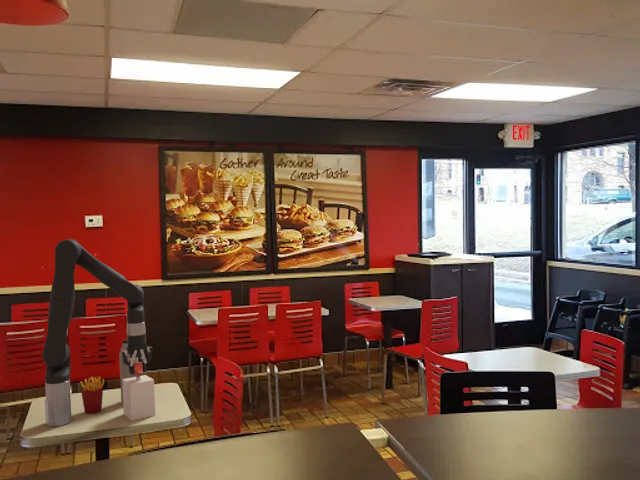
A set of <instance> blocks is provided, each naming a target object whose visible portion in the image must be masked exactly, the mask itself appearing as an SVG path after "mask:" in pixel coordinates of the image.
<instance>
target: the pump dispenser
mask: <svg viewBox="0 0 640 480" xmlns="http://www.w3.org/2000/svg"><path fill="white" fill-rule="evenodd" d="M122 383H123V404H122V405H123V406H122V407H123V415H124V416H126V418H128V419H129V420H131V421H137V420H141V419H143V418H144V419H146V418H149V417H152V416H156V399H155V398H156V397H155V394H156V393H155V392H156V391H155V379H153V378H152V377H150V376H148V375H146V374H143V375H140V380H137V381H136V377H132V378H126V379H122Z"/></svg>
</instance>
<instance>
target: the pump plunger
mask: <svg viewBox="0 0 640 480" xmlns="http://www.w3.org/2000/svg"><path fill="white" fill-rule="evenodd" d="M133 371H134V374H136V381H137V380H140V376H141V374H144V373H143V362H142V361H138V362H135V363H133Z"/></svg>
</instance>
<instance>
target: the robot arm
mask: <svg viewBox="0 0 640 480" xmlns="http://www.w3.org/2000/svg"><path fill="white" fill-rule="evenodd" d="M76 266H78V267H81V268H83V269H84V270H86V272H88V273H89V274H90V275H92V276H93V277H94V278H96V280H97V281H99V282H100V283H102V284H103V285H105V286H106V287H108V288H109V289H111V290H113V291H114V292H116V293H117V294H118V295H119V296H121V298H123V299H125V300H126V302H127V303H126V304H127V309H126V340H127V349H126V350H125V351H121V350H120V352H119V353H120V354H121V357H122V360H123V362H124V364H125V365H128V366H129V373H130V374H131V375H133V374H134V371H133V362H134V360H135V358H136V357H138V358H140V360H141V362H143V373H142V374H144V373H146V372H147V363H149V362H151V361H152V358H153V353H154V347H152V346H148V345H147V333H146V323H145V322H146V321H145V310H144V309H145V308H144V307H145V305H144V303H145V291H144V289H143V288H142V286H140V285H138V284H133V283H132V282H131V281H129V280H127V279H126V277H125V276H124V275H123V274H121V273H120V272H118V271H117V270H115V269H113V268H112V267H110V266H108V265H107V264H106V263H103V262H102V261H101V260H99V259H98V258H97V257H95V256H93V255H92V254H91V253H90V252H88V250H86V249H85V248H84V247H83V246H82V245H81V244H80V243H79V242H78V241H77V240H76V239H71V238H67V239H63V240H61V241H59V242H58V243H57V244H56V245H55V249H54V274H53V279H52V283H51V290H50V295H49V304H48V313H47V314H48V315H47V317H48V318H47V333H46V337H45V343H44V345H43V350H42V354H41V355H42V360H43V362H44V364H45V365H46V366H45V367H46V368H45V369H46V370H45V376H44V383H45V385H44V387H45V400H44V410H45V411H44V412H45V414H44V415H45V423H46V425H47V426H48V427H60V426H65V425H68V424H70V423H71V422H72V399H71V377H70V376H71V351H70V347H69V345H68V344H67V335H68V329H69V327H70V323H71V321H72V320H71V319H72V317H73V313H74V308H75V307H74V306H75V299H76V298H75V297H76V289H75V269H76ZM146 351H147V353H146ZM127 352H128V353H129V354H130V357H129V362H128V360H127V358H126V355H127ZM145 353H146V355H145Z"/></svg>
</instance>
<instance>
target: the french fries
mask: <svg viewBox="0 0 640 480" xmlns="http://www.w3.org/2000/svg"><path fill="white" fill-rule="evenodd" d="M101 380H102V381H101ZM105 380H106V379H104V378H102V379H101V376H97V377H94V376H90V378H88V379H87V378H85V379H84V382H83V381H79V383H80V385H81V388H82V390H81V397H82V402H83V409H84V415H85V414H87V415H88V414H89V415H95V414H98V413H99V412H101V411H103V410H102V406H103V394H104V384H105Z"/></svg>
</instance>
